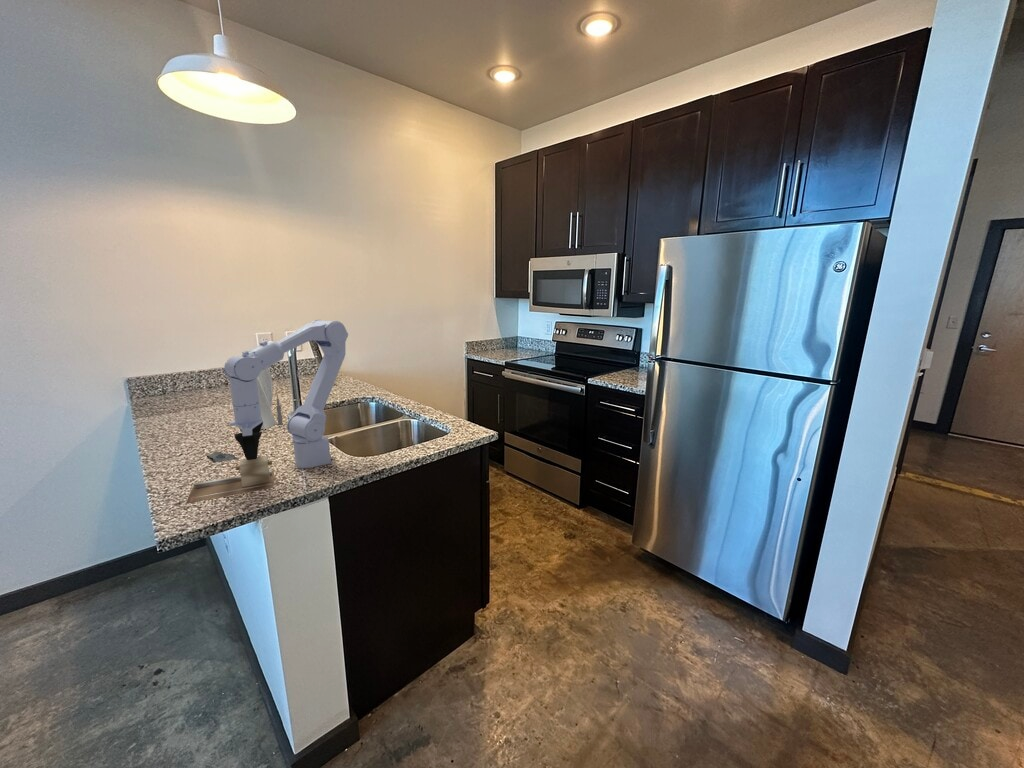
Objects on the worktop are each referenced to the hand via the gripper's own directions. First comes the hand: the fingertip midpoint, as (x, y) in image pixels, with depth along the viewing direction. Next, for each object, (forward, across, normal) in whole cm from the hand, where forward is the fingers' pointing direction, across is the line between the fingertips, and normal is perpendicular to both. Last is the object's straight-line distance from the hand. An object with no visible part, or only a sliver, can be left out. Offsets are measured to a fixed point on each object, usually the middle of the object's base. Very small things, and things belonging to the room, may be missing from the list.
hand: (252, 454), depth 106 cm
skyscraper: (+10, -55, +1) cm, 56 cm away
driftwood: (+10, -23, -9) cm, 27 cm away
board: (+9, 0, -5) cm, 10 cm away
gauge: (+8, 0, 0) cm, 8 cm away
